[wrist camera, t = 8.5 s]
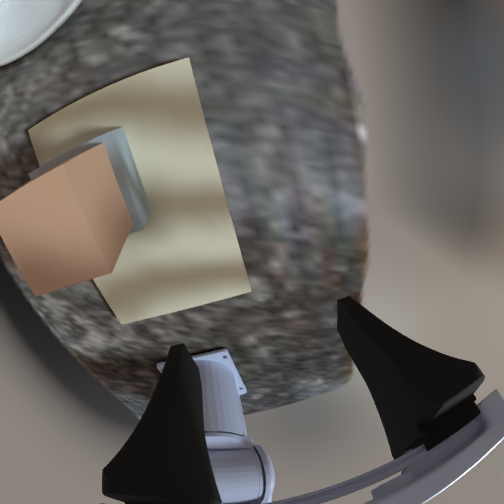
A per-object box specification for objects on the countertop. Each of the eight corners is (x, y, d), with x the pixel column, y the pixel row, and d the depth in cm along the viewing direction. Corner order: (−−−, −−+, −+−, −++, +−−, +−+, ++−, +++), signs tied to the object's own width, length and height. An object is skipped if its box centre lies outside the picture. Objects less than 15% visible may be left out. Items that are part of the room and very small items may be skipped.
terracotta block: (133, 223, 15) (112, 272, 11) (67, 247, 15) (35, 296, 11) (103, 142, 12) (63, 163, 8) (36, 176, 12) (-12, 209, 8)
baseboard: (249, 284, 24) (258, 316, 20) (123, 316, 23) (116, 349, 20) (189, 60, 14) (186, 48, 11) (34, 128, 14) (4, 137, 10)
